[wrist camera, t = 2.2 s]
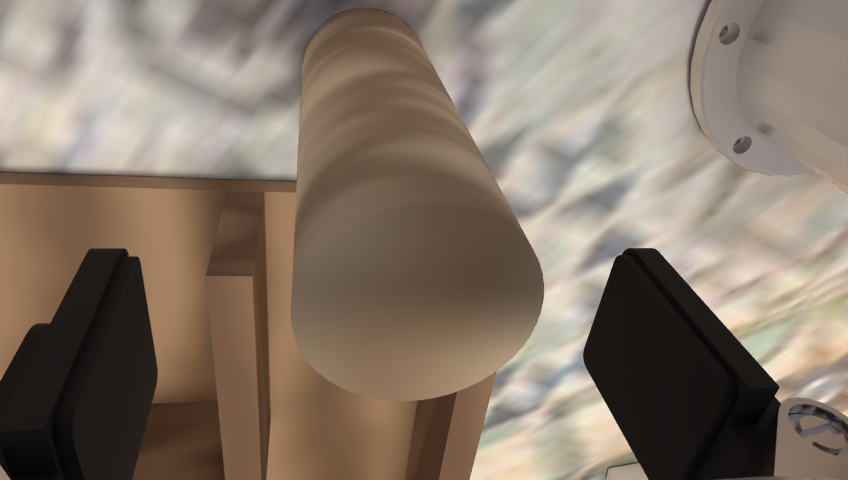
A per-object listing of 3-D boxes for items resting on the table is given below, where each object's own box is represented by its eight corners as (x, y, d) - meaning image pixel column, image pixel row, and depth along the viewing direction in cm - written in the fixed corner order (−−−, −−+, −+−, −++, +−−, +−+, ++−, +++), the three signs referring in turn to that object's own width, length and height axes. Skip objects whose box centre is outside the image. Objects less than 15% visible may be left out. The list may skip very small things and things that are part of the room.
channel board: (476, 187, 28) (519, 276, 22) (419, 497, 40) (437, 606, 35) (-135, 167, 23) (-284, 274, 17) (14, 525, 36) (-44, 656, 30)
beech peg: (433, 13, 23) (571, 204, 11) (419, 133, 26) (516, 397, 14) (302, 2, 22) (290, 197, 10) (301, 128, 25) (291, 405, 13)
